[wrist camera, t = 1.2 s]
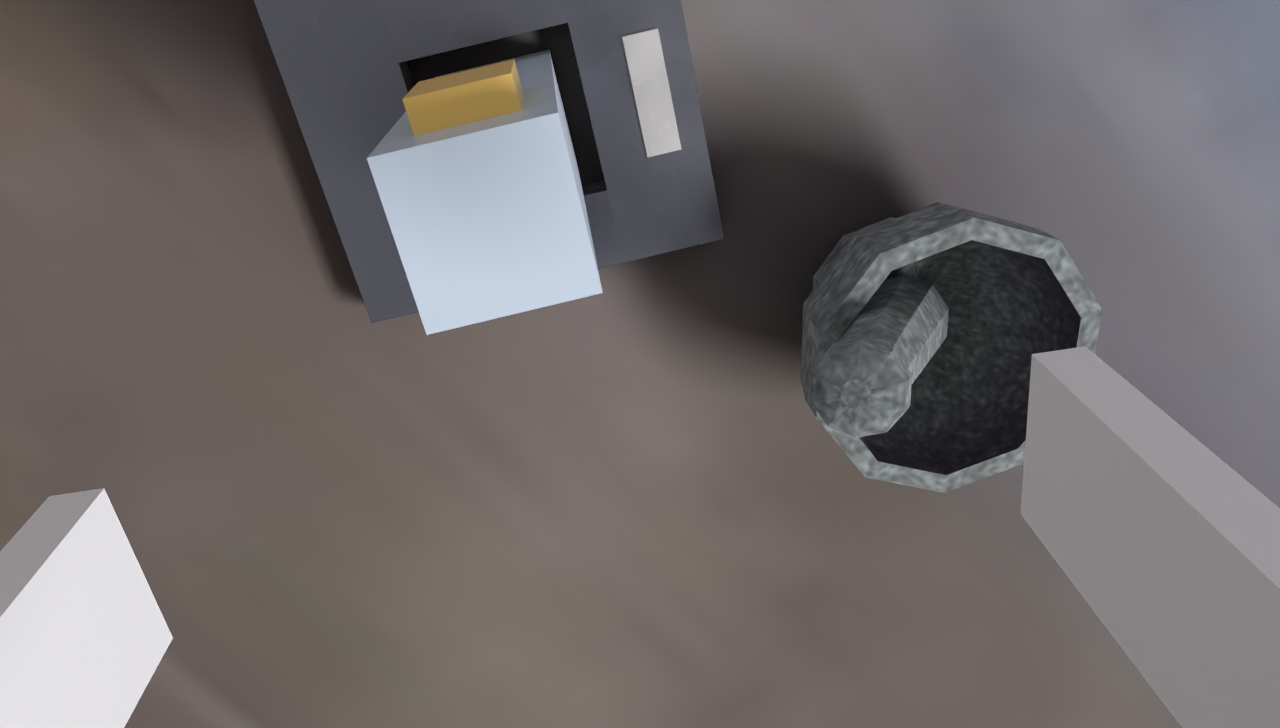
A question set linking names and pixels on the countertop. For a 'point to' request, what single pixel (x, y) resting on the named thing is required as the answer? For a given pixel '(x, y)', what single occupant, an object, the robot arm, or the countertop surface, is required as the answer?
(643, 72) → the port panel
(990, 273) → the mortar and pestle
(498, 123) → the plug
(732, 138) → the countertop surface
